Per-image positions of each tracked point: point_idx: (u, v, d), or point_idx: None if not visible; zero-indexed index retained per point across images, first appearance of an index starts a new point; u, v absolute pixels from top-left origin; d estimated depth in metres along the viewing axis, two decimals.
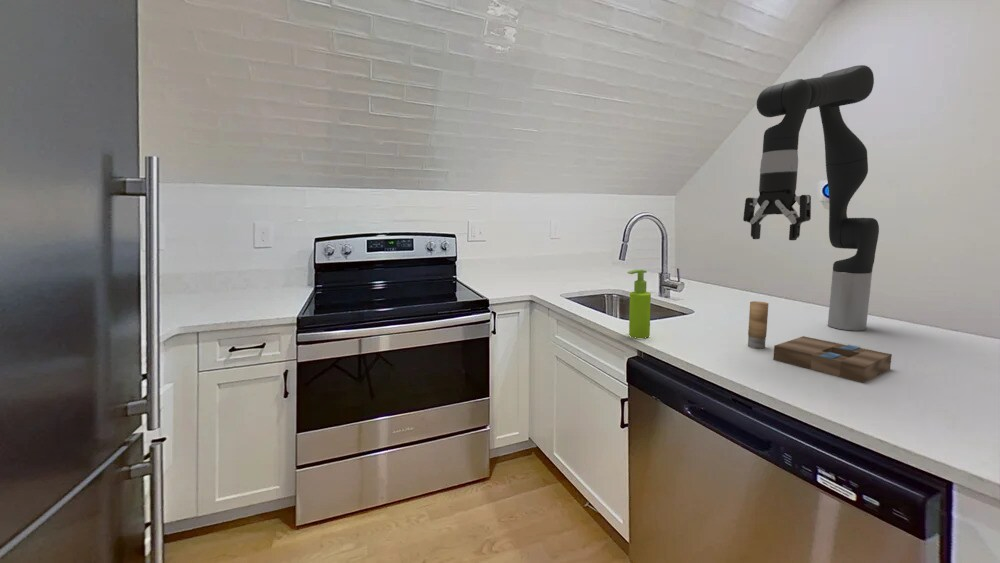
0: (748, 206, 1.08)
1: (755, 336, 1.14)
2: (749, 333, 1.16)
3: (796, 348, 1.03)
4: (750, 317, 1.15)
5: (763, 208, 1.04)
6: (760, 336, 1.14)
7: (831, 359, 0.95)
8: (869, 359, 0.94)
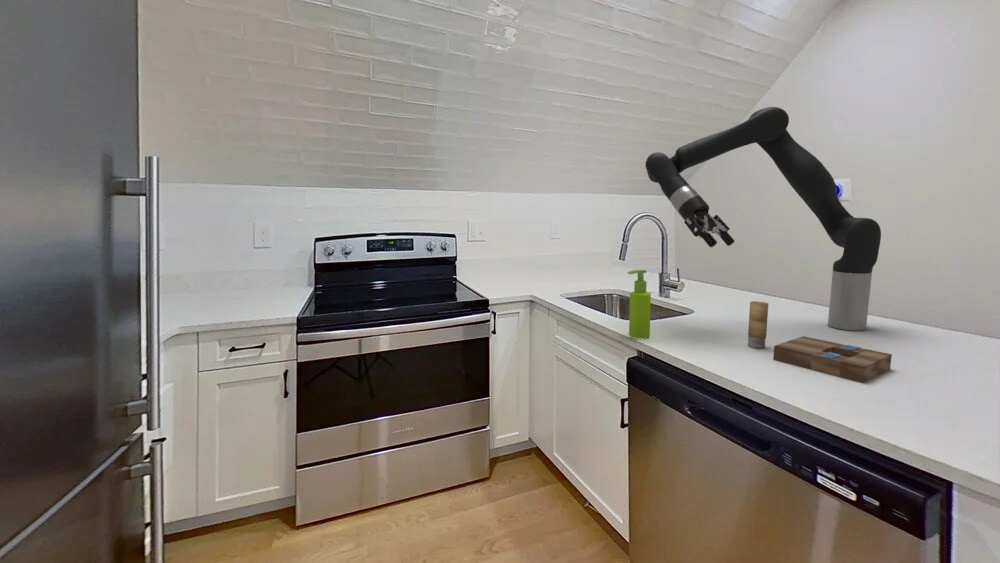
0: None
1: (755, 336, 1.14)
2: (749, 333, 1.16)
3: (796, 348, 1.03)
4: (750, 317, 1.15)
5: None
6: (760, 336, 1.14)
7: (831, 359, 0.95)
8: (869, 359, 0.94)
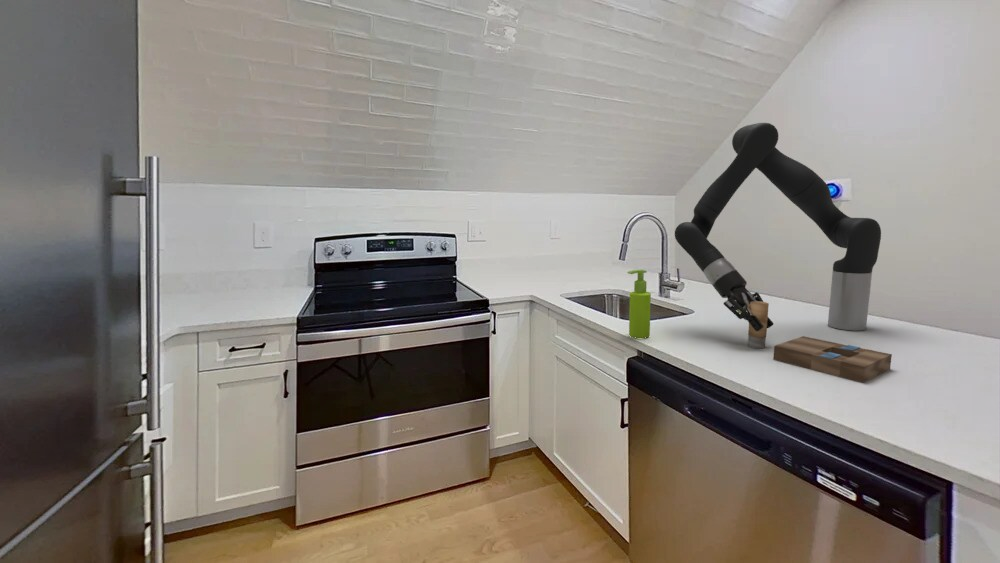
0: None
1: (755, 336, 1.14)
2: (749, 333, 1.16)
3: (796, 348, 1.03)
4: None
5: None
6: (760, 336, 1.14)
7: (831, 359, 0.95)
8: (869, 359, 0.94)
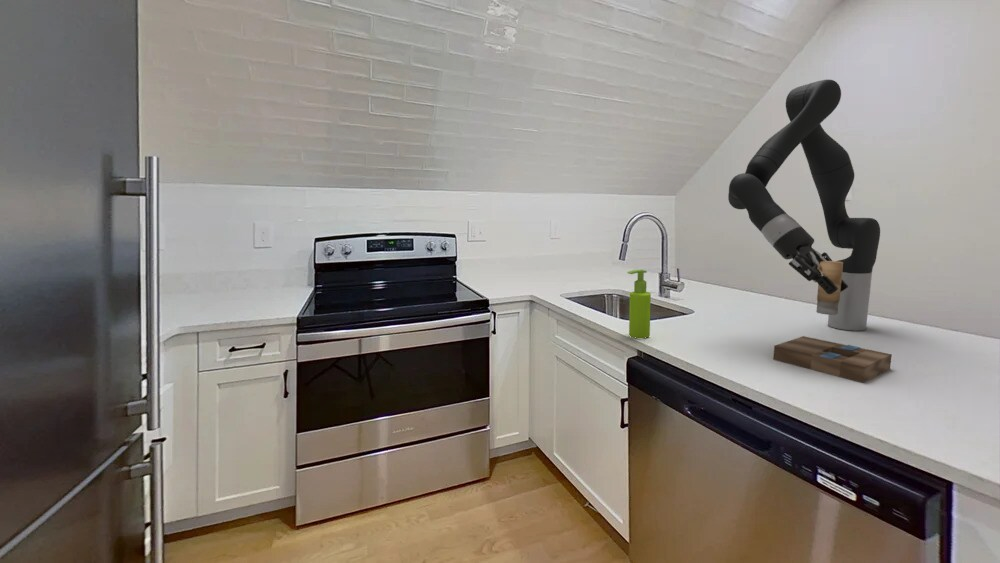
0: None
1: (827, 300, 0.99)
2: (819, 297, 1.00)
3: (796, 348, 1.03)
4: None
5: None
6: (833, 300, 0.98)
7: (831, 359, 0.95)
8: (869, 359, 0.94)
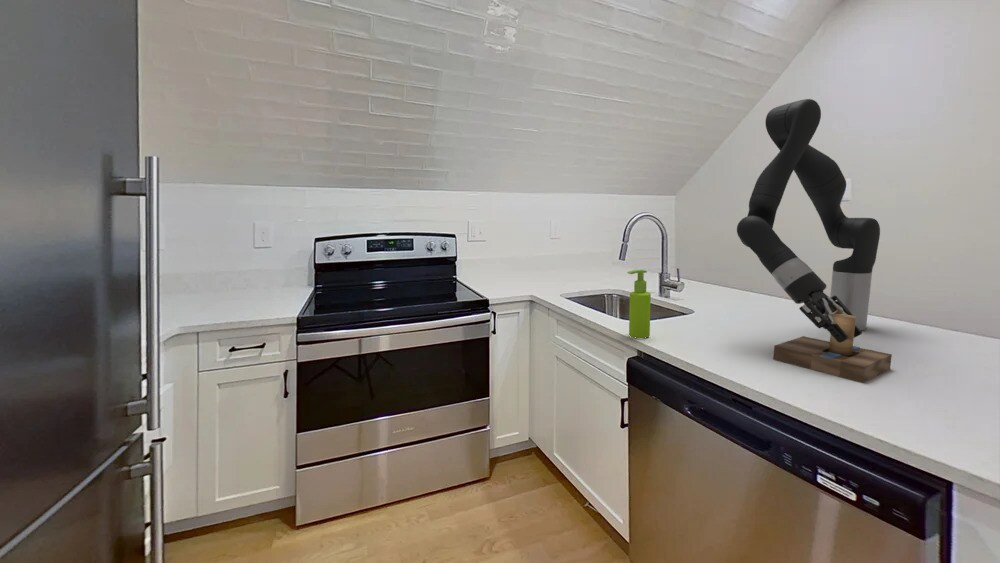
0: None
1: None
2: (831, 351, 0.99)
3: (796, 348, 1.03)
4: None
5: None
6: (845, 355, 0.97)
7: (831, 359, 0.95)
8: (869, 359, 0.94)
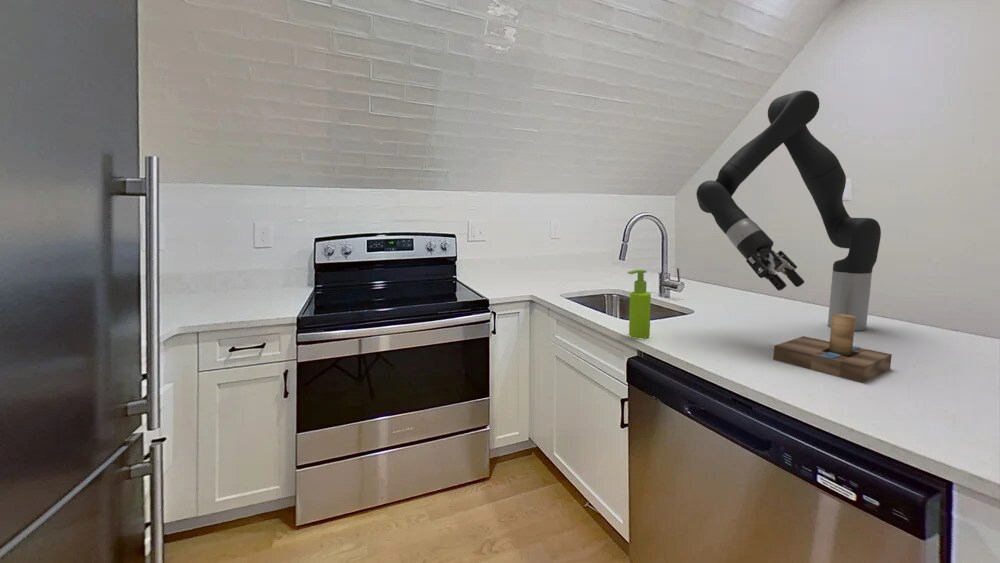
0: None
1: None
2: (831, 351, 1.00)
3: (796, 348, 1.03)
4: (832, 333, 0.99)
5: None
6: (845, 355, 0.98)
7: (831, 359, 0.95)
8: (869, 359, 0.94)
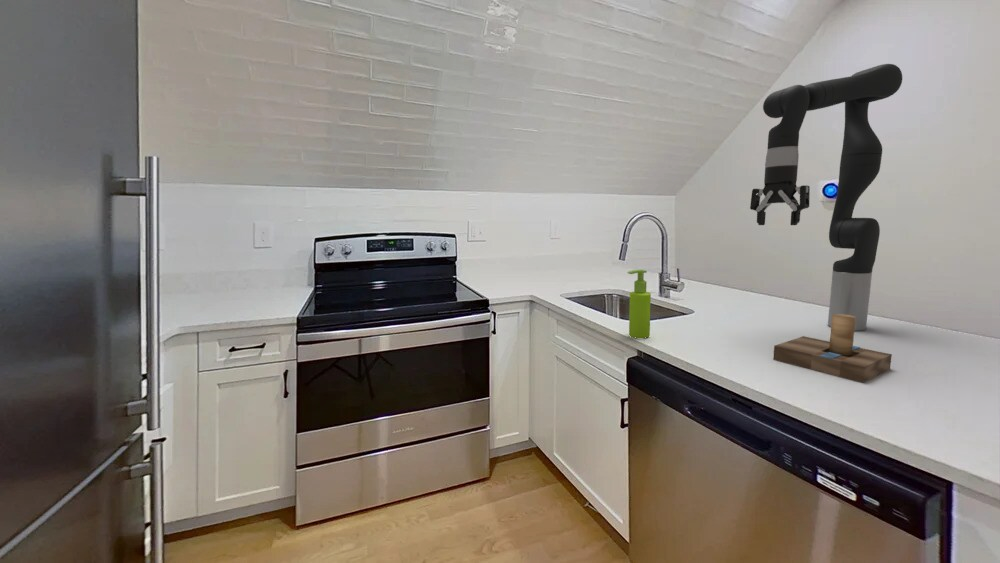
0: (754, 196, 1.23)
1: None
2: (831, 351, 1.00)
3: (796, 348, 1.03)
4: (833, 333, 0.99)
5: (768, 197, 1.19)
6: (845, 355, 0.98)
7: (831, 359, 0.95)
8: (869, 359, 0.94)
